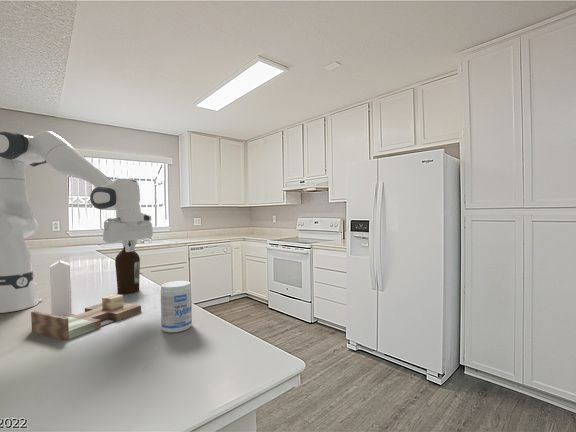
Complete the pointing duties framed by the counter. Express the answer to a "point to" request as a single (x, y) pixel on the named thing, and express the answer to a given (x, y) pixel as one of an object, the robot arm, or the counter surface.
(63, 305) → the milk
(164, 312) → the supplement tub
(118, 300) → the block
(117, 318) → the board
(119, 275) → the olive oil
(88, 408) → the counter surface
